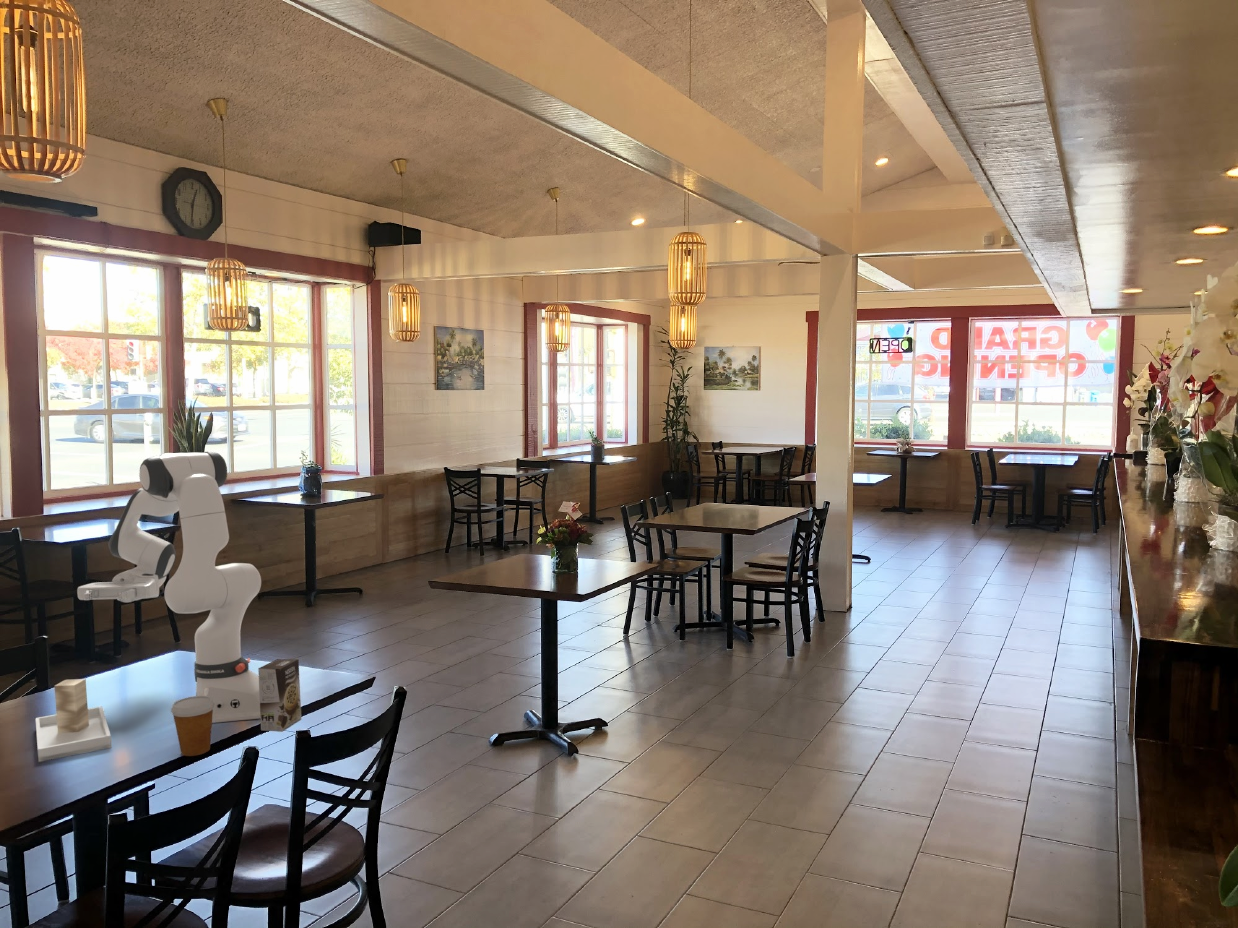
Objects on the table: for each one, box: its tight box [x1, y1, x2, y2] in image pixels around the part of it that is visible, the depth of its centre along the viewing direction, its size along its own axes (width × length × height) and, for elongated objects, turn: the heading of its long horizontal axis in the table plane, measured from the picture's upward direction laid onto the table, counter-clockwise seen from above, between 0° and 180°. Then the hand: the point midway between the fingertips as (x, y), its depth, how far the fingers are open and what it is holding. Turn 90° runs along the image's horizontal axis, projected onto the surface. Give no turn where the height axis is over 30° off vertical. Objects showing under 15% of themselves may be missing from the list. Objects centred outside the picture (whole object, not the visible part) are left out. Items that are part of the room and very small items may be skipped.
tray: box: [35, 706, 112, 763], centre depth 234 cm, size 26×15×3 cm, turn 33°
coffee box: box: [257, 658, 302, 733], centre depth 239 cm, size 9×6×16 cm
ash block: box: [54, 678, 89, 733], centre depth 238 cm, size 5×5×12 cm
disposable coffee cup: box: [170, 695, 215, 757], centre depth 223 cm, size 10×10×12 cm
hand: (103, 596), depth 258 cm, fingers open, 8 cm apart
